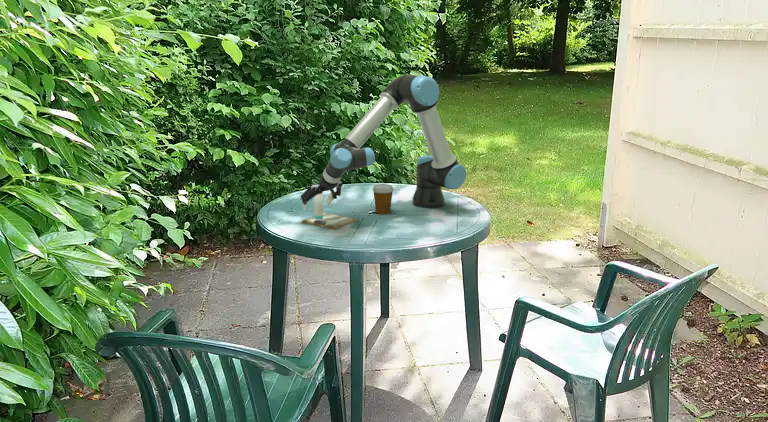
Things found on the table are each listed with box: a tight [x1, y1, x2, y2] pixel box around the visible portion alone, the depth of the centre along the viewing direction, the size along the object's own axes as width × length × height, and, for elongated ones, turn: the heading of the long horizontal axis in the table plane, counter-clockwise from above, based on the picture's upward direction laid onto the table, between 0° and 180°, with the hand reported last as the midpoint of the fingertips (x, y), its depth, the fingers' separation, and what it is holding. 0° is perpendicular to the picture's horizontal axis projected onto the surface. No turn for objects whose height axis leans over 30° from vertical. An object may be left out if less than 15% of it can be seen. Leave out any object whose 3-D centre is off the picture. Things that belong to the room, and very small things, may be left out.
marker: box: [313, 191, 324, 219], centre depth 266 cm, size 4×4×13 cm
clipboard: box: [301, 212, 358, 230], centre depth 266 cm, size 18×15×2 cm
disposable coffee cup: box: [372, 183, 394, 215], centre depth 279 cm, size 10×10×12 cm
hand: (315, 205), depth 269 cm, fingers open, 10 cm apart
